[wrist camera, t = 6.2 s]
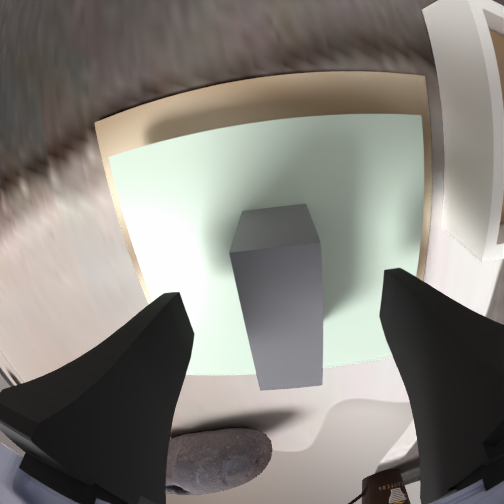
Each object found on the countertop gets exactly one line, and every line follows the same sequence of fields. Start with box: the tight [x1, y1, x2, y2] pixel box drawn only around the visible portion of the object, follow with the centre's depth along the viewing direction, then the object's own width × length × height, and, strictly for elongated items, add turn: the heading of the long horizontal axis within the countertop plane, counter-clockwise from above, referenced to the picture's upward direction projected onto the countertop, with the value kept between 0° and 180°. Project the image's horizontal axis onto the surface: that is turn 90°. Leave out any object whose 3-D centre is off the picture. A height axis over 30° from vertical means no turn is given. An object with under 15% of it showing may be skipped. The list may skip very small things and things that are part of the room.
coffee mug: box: [348, 469, 410, 504], centre depth 26 cm, size 12×9×10 cm
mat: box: [95, 71, 432, 304], centre depth 14 cm, size 16×16×1 cm
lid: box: [108, 114, 424, 390], centre depth 11 cm, size 12×12×6 cm
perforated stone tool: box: [166, 428, 272, 495], centre depth 21 cm, size 15×5×7 cm, turn 125°
